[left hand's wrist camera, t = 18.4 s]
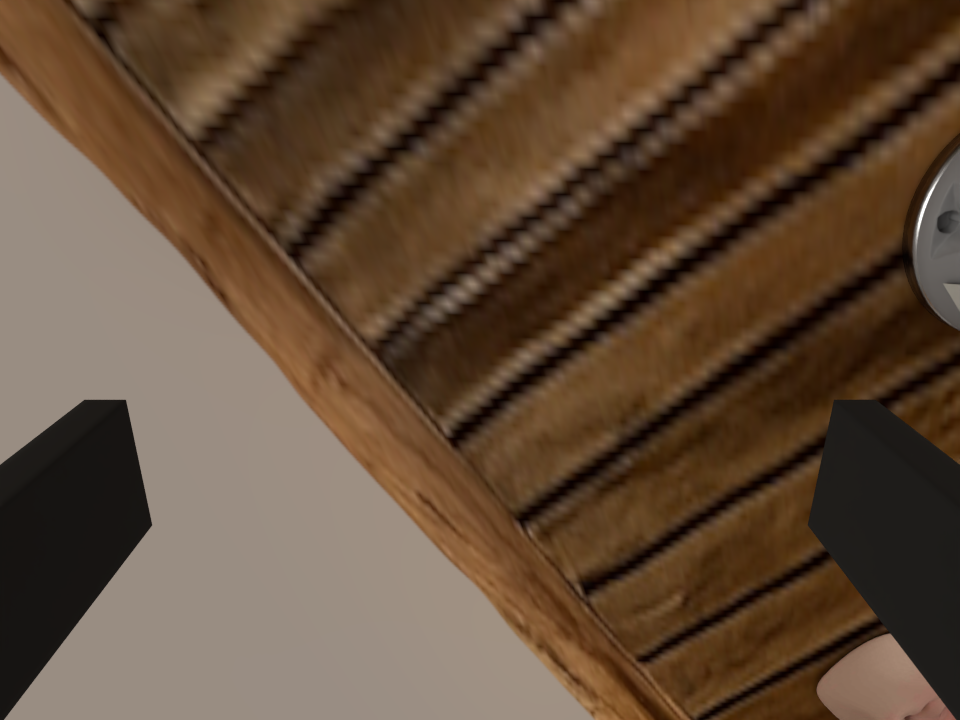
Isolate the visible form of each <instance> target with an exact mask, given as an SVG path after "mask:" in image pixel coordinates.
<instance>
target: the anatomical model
mask: <svg viewBox="0 0 960 720" xmlns="http://www.w3.org/2000/svg"><path fill="white" fill-rule="evenodd" d="M817 694H818V696H819V698H820V700H821V701H822V702H823V704H824V705H825V706H826V707H827V708H828V709H829V710H830V711H831V712H832V713H833V714H834V715H835V716H836V717H838V718H839V719H840V720H956V719H955V718H954V716H953V715H952V714H951V712H950V711H949V710H948V708H947V707H946V706H945V704H944V703H943V702H942V701H941V699H940V698H939V697H938V695H937V694H936V693H935V691H934V690H933V689H932V687H931V686H930V685H929V683H928V682H927V681H926V680H925V678H924V677H923V676H922V674H921V673H920V672H919V670H918V669H917V668H916V666H915V665H914V664H913V662H912V661H911V660H910V659H909V657H908V656H907V655H906V653H905V652H904V651H903V649H902V648H901V647H900V645H899V644H898V643H897V641H896V640H895V639H894V638H893V636H892V635H891V634H890V633H889V634H885V635H882V636H879V637H876V638H874V639H871V640H869V641H867V642H866V643H864V644H862V645H860V646H859V647H857V648H856V649H854V650H853V651H851V652H850V653H849V654H847V655H846V656H845V657H844V658H842V659H841V660H840V661H839V662H837V663H836V664H835V665H834V666H833V667H832V668H831V669H830V670H829V671H828V672H827V673H826V674H825V675H824V676H823V677H822V678H821V680H820V682H819V683H818V686H817Z"/></svg>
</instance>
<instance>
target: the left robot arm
mask: <svg viewBox="0 0 960 720" xmlns="http://www.w3.org/2000/svg"><path fill="white" fill-rule="evenodd" d="M902 250H903V262H904V267H905V272H906V275H907V278H908V281H909V284H910V286H911V288H912V290H913V292H914V294H915V295H916V297H917V299H918V300H919V301H920V303H921V304H922V305H923V306H924V307H925V308H926V309H927V310H928V311H929V312H930V313H931V314H932V315H933V316H934V317H936V318H937V319H938V320H940V321H942V322H943V323H945V324H947V325H949V326H951V327H953V328H955V329H957V330H959V331H960V133H959V134H958V135H957V136H956V137H955V138H954V139H953V140H952V141H951V142H950V143H949V144H948V145H947V146H946V147H945V148H944V149H943V151H942V152H941V153H940V154H939V155H938V156H937V158H936V159H935V160H934V162H933V163H932V164H931V166H930V167H929V169H928V170H927V172H926V174H925V175H924V177H923V178H922V180H921V182H920V184H919V186H918V188H917V190H916V192H915V194H914V197H913V199H912V201H911V204H910V207H909V210H908V213H907V217H906V221H905V226H904V233H903V249H902ZM151 526H152V522H151V517H150V513H149V508H148V503H147V498H146V493H145V489H144V484H143V479H142V474H141V470H140V465H139V460H138V455H137V451H136V446H135V441H134V436H133V432H132V427H131V422H130V417H129V413H128V408H127V403H126V400H84V401H82V402H81V403H80V404H79V405H77V406H76V407H75V408H73V409H72V410H71V411H70V412H68V413H67V414H66V415H64V416H63V417H62V418H60V419H59V420H58V421H57V422H55V423H54V424H53V425H51V426H50V427H49V428H47V429H46V430H45V431H44V432H42V433H41V434H40V435H38V436H37V437H36V438H34V439H33V440H32V441H31V442H29V443H28V444H27V445H25V446H24V447H23V448H21V449H20V450H19V451H18V452H16V453H15V454H14V455H12V456H11V457H10V458H8V459H7V460H6V461H5V462H3V463H2V464H1V465H0V720H4V719H5V718H6V716H7V715H8V714H9V712H10V711H11V710H12V708H13V707H14V706H15V704H16V703H17V702H18V701H19V699H20V698H21V696H22V695H23V694H24V693H25V691H26V690H27V689H28V687H29V686H30V685H31V683H32V682H33V681H34V679H35V678H36V677H37V676H38V674H39V673H40V672H41V670H42V669H43V668H44V666H45V665H46V664H47V662H48V661H49V660H50V659H51V657H52V656H53V655H54V653H55V652H56V651H57V649H58V648H59V647H60V645H61V644H62V643H63V641H64V640H65V639H66V638H67V636H68V635H69V634H70V632H71V631H72V630H73V628H74V627H75V626H76V624H77V623H78V622H79V620H80V619H81V618H82V617H83V615H84V614H85V613H86V611H87V610H88V609H89V607H90V606H91V605H92V603H93V602H94V601H95V599H96V598H97V597H98V596H99V594H100V593H101V592H102V590H103V589H104V588H105V586H106V585H107V584H108V582H109V581H110V580H111V579H112V577H113V576H114V575H115V573H116V572H117V571H118V569H119V568H120V567H121V565H122V564H123V563H124V561H125V560H126V559H127V558H128V556H129V555H130V554H131V552H132V551H133V550H134V548H135V547H136V546H137V544H138V543H139V542H140V540H141V539H142V538H143V537H144V535H145V534H146V533H147V531H148V530H149V529H150V527H151ZM808 526H809V527H810V529H811V530H812V531H813V533H814V534H815V535H816V537H817V538H818V539H819V540H820V542H821V543H822V544H823V546H824V547H825V548H826V550H827V551H828V552H829V554H830V555H831V556H832V558H833V559H834V560H835V561H836V563H837V564H838V565H839V567H840V568H841V569H842V571H843V572H844V573H845V575H846V576H847V577H848V579H849V580H850V581H851V582H852V584H853V585H854V586H855V588H856V589H857V590H858V592H859V593H860V594H861V596H862V597H863V598H864V600H865V601H866V602H867V603H868V605H869V606H870V607H871V609H872V610H873V611H874V613H875V614H876V615H877V617H878V618H879V619H880V620H881V622H882V623H883V624H884V626H885V627H886V628H887V630H888V631H889V632H890V634H891V635H892V636H893V638H894V639H895V640H896V641H897V643H898V644H899V645H900V647H901V648H902V649H903V651H904V652H905V653H906V655H907V656H908V657H909V659H910V660H911V661H912V662H913V664H914V665H915V666H916V668H917V669H918V670H919V672H920V673H921V674H922V676H923V677H924V678H925V680H926V681H927V682H928V683H929V685H930V686H931V687H932V689H933V690H934V691H935V693H936V694H937V695H938V697H939V698H940V699H941V701H942V702H943V703H944V704H945V706H946V707H947V708H948V710H949V711H950V712H951V714H952V715H953V716H954V718H955V719H956V720H960V465H959V464H958V463H957V462H955V461H954V460H953V459H952V458H950V457H949V456H948V455H946V454H945V453H944V452H942V451H941V450H940V449H939V448H937V447H936V446H935V445H933V444H932V443H931V442H929V441H928V440H927V439H926V438H924V437H923V436H922V435H920V434H919V433H918V432H916V431H915V430H914V429H913V428H911V427H910V426H909V425H907V424H906V423H905V422H903V421H902V420H901V419H900V418H898V417H897V416H896V415H894V414H893V413H892V412H891V411H889V410H888V409H887V408H885V407H884V406H883V405H881V404H880V403H879V402H878V401H876V400H834V403H833V408H832V412H831V417H830V422H829V427H828V432H827V436H826V441H825V446H824V451H823V455H822V460H821V465H820V470H819V474H818V479H817V484H816V489H815V493H814V498H813V503H812V508H811V513H810V517H809V522H808Z"/></svg>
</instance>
